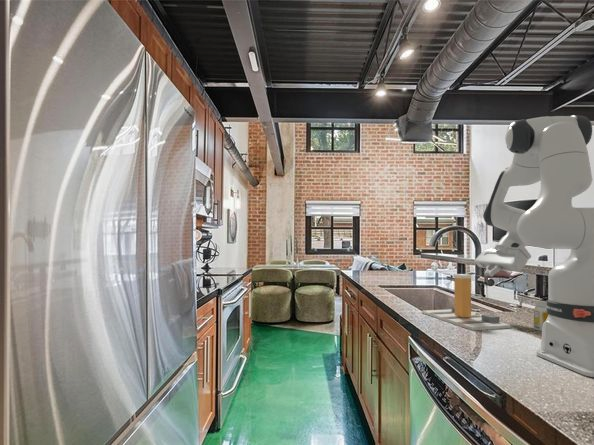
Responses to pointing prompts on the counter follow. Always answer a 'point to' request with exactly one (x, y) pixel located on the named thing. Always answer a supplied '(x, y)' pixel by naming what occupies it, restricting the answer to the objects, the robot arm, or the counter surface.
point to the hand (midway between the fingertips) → (487, 275)
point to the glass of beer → (462, 295)
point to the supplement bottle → (540, 315)
